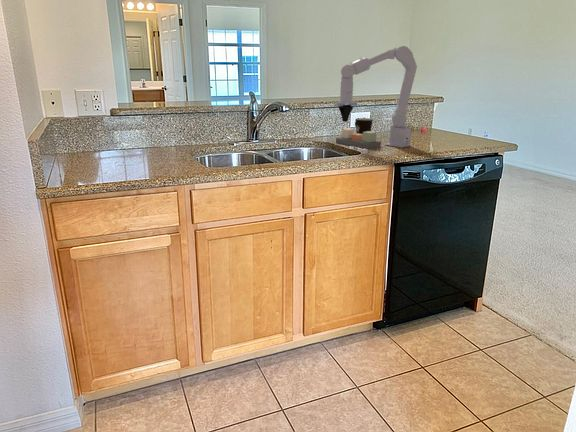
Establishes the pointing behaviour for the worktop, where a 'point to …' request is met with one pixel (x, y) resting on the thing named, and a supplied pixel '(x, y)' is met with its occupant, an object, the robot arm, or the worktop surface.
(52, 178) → the worktop surface
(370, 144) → the compartment tray
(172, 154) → the worktop surface
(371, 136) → the block sage
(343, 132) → the block cream
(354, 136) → the block terracotta
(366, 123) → the coffee mug
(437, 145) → the worktop surface
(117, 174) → the worktop surface
